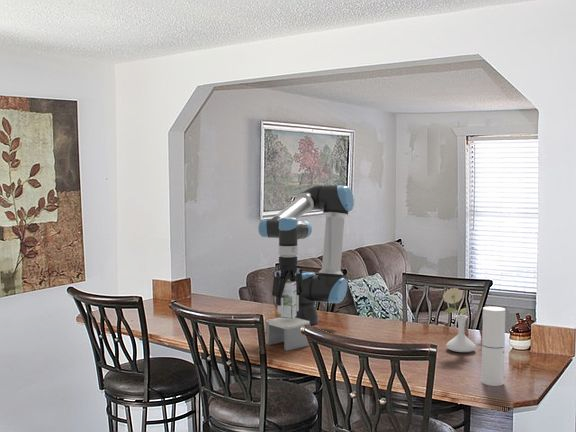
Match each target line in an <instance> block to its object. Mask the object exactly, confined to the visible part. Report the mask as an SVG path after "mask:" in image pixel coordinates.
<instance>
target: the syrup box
mask: <svg viewBox="0 0 576 432" xmlns="http://www.w3.org/2000/svg"><path fill="white" fill-rule="evenodd" d="M282 298H283V314H280V313H279V318H291V319H292V318H294V317H296V281H295V282H294V281H290V280H287V282H286V283H285V287H284V290H283V293H282Z"/></svg>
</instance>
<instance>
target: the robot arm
mask: <svg viewBox="0 0 576 432" xmlns="http://www.w3.org/2000/svg"><path fill="white" fill-rule="evenodd" d="M354 204H355V199H354V195H353V191H352V189H351V188H350V187H349V186H347V185H338V184H337V185H335V184H334V185H332V184H331V185H326V184H325V185H323V184H318V185H313V186H311V187H309V188H306V189H305V190H303V191H302V192H300V193H299V194H297V196H296V197H295V199H294V200H293V201H292V202H291V203H290V204H288V205H287V206H286V207H284V208H283V209H282V210H280V211H279V212H277V214H275V216H273V217H272V218H270V219H262V220H260V222H259V223H258V227H257V228H258V234H259V236H260V237H262V238H268V239H269V238H274V239H278V256H279V257H278V265H279V268H278V270H277V271H275V270H274V271H273V272H272V273H273V283H272V291H271V292H272V293H271V296H272V297H275V300H276V303H275V304H276V307H277V310H276V311H277V314H279V315H280V314H283V298H282V293H283V290H284V287H285V283H286V282H287V281H294V282H295V281H296V317H295V318H299V319H303V320H307V321H310V326H313V325H317V324H319V315H318V312H317V307H316V302H317V303H318V302H319V303H325V304H326V303H327V304H328V303H329V304H340V303H342V301H343V300H344V299H345V297H346V294H347V291H348V281H347V279H346V278H344V273H343V271H342V268H341V267H342V255H343V241H344V229H345V219H347V217H348V216H349V212H351V211H353V210H354V209H353V208H354ZM312 211H322V214H323V216H324V217H325V226H324V237H323V248H322V249H323V252H322V261H321V262H322V265H321V269H319V271H318V273H317V275H316V273H315V272H314V271H312V272H311V271H308V272H307V271H306V272H304V271H303V269H302V268H297V266H298V256H297V255H298V240H304V239H306V238H309V237H310V236H311V234H312V232H313V228H312V225H311V223H310V222H309V221H307V220H302V219H301V220H299V219H300V218H301V217H303V215H305V214H308V213H311V212H312Z"/></svg>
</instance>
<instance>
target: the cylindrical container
mask: <svg viewBox="0 0 576 432" xmlns="http://www.w3.org/2000/svg"><path fill="white" fill-rule="evenodd" d="M481 331H482V335H481V337H482V338H481V339H482V340H481V345H482V346H481V377H480V379H481V380H480V381H481V383H482V384H483V385H487V386H491V387H492V386H493V387H496V386H497V387H498V386H503V385H504V384H505V383H504V380H505V346H506V343H505V342H506V308H505V307H501V306H484V307H482V330H481Z"/></svg>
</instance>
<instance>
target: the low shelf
mask: <svg viewBox="0 0 576 432" xmlns="http://www.w3.org/2000/svg"><path fill="white" fill-rule="evenodd" d="M265 321H266V323H265V324H266V333H265V335H266V338H265V339H266V340H265V341H266V343H265V344H266V345H268V346H270V345H275V344H280V343H283V344H284V345H283V347H284V348H283V349H284V351H292V350H296V349H300V348H301V349H302V348H304V347H309V345H308V341H307V339H306V337H305V336H304V335H302V334H301V332H300V328H301V327H302V326H304V325H310V321H307V320H303V319H299V318H295V317H294V318H292V319H291V318H280V317H277V318H276V317H275V318H270V319H266V320H265ZM310 326H311V325H310Z"/></svg>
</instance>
